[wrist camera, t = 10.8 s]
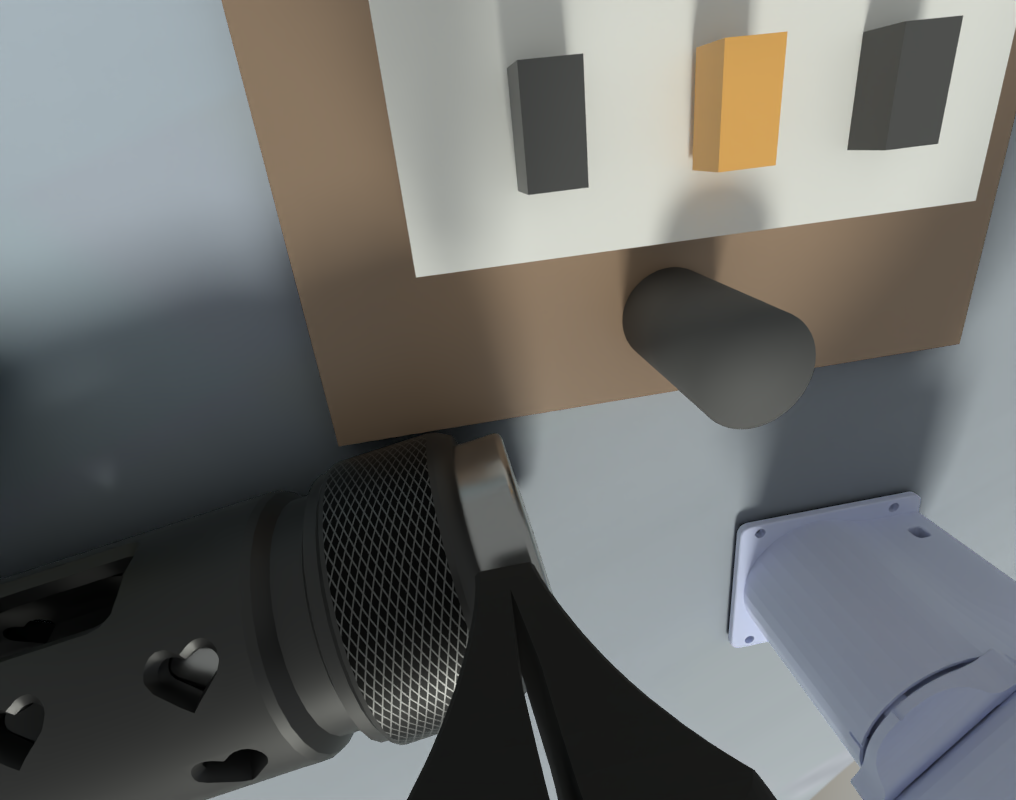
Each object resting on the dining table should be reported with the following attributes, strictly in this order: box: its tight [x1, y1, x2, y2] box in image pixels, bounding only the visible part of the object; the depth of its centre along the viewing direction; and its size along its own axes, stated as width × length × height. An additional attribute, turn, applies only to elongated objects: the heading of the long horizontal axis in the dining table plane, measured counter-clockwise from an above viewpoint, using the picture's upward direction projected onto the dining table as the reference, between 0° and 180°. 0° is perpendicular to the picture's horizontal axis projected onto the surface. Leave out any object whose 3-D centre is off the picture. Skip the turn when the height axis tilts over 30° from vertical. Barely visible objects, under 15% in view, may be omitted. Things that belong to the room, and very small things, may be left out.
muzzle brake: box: [0, 433, 553, 800], centre depth 20 cm, size 10×28×10 cm
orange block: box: [692, 31, 788, 172], centre depth 15 cm, size 2×3×2 cm, turn 6°
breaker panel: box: [222, 0, 1016, 446], centre depth 17 cm, size 26×20×6 cm
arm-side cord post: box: [622, 267, 816, 429], centre depth 19 cm, size 4×4×6 cm
